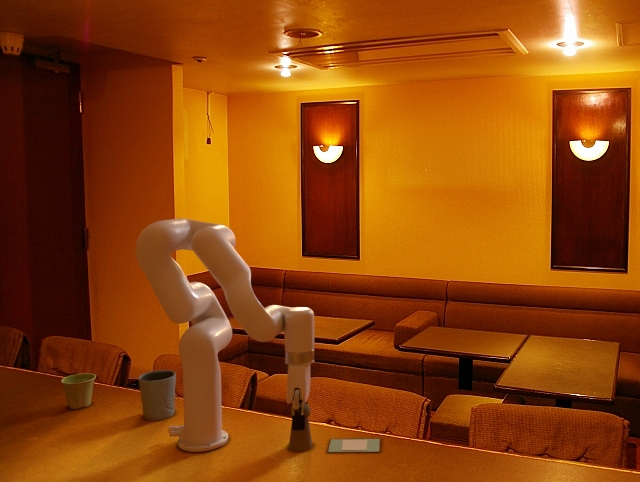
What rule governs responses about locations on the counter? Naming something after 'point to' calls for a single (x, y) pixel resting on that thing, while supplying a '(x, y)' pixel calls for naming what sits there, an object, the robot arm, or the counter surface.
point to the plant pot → (78, 389)
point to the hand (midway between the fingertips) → (300, 424)
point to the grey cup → (158, 394)
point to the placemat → (354, 445)
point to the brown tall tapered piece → (301, 434)
